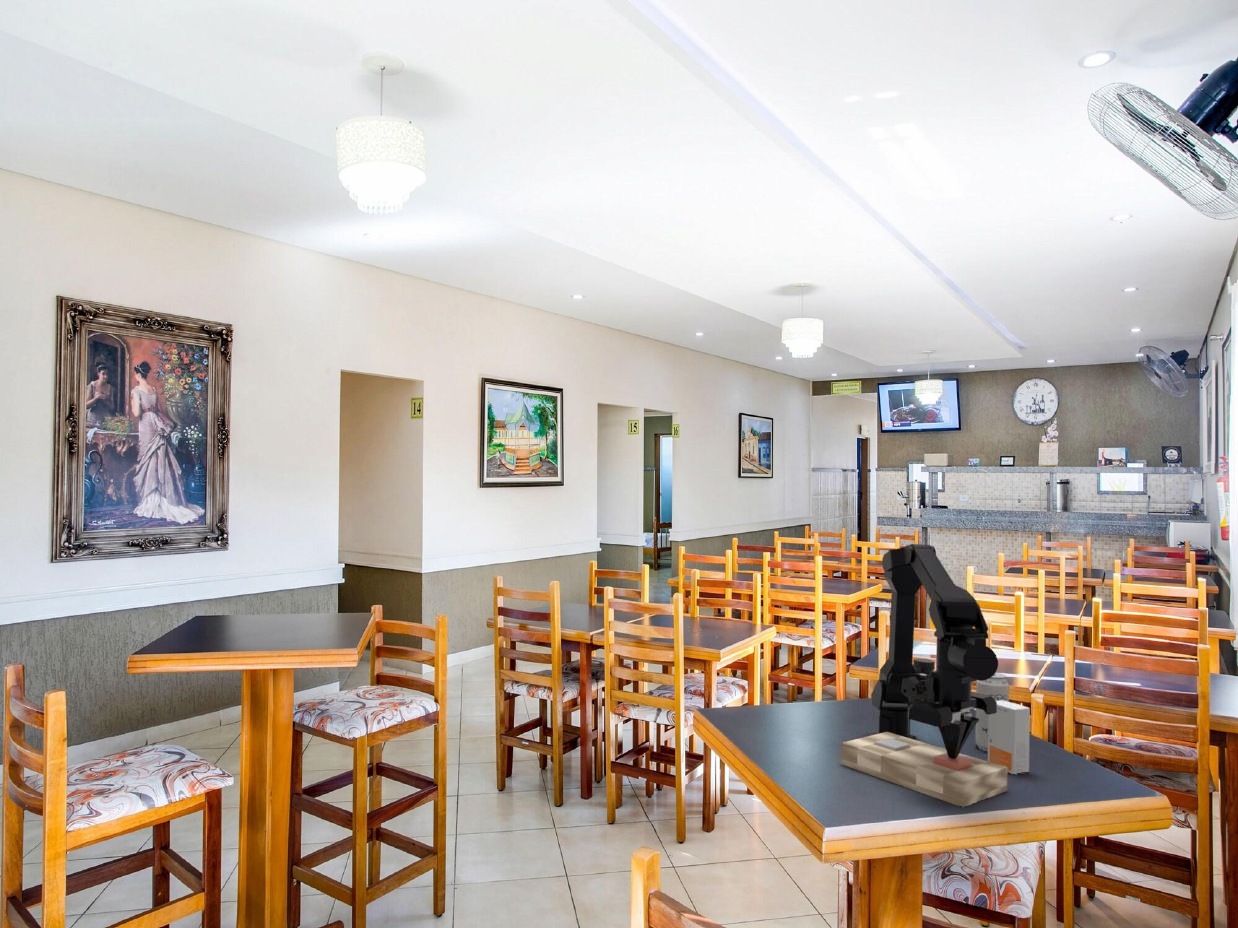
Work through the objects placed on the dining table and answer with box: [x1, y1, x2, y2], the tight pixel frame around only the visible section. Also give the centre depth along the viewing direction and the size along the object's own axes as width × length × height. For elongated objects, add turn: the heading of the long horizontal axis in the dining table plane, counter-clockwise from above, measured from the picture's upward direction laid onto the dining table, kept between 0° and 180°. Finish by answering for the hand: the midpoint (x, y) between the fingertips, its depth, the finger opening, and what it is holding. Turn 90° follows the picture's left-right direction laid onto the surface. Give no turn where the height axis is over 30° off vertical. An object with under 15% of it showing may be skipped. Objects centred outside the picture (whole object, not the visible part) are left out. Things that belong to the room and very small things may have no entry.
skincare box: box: [986, 700, 1031, 775], centre depth 148 cm, size 6×4×12 cm
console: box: [840, 732, 1008, 808], centre depth 141 cm, size 14×24×4 cm, turn 36°
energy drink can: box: [975, 672, 1010, 753], centre depth 160 cm, size 6×6×15 cm
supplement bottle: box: [912, 657, 938, 704], centre depth 189 cm, size 7×7×12 cm
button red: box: [934, 753, 972, 771], centre depth 137 cm, size 4×4×4 cm
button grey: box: [875, 738, 910, 751], centre depth 146 cm, size 4×4×4 cm
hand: (952, 758), depth 137 cm, fingers closed, pressing on button red
